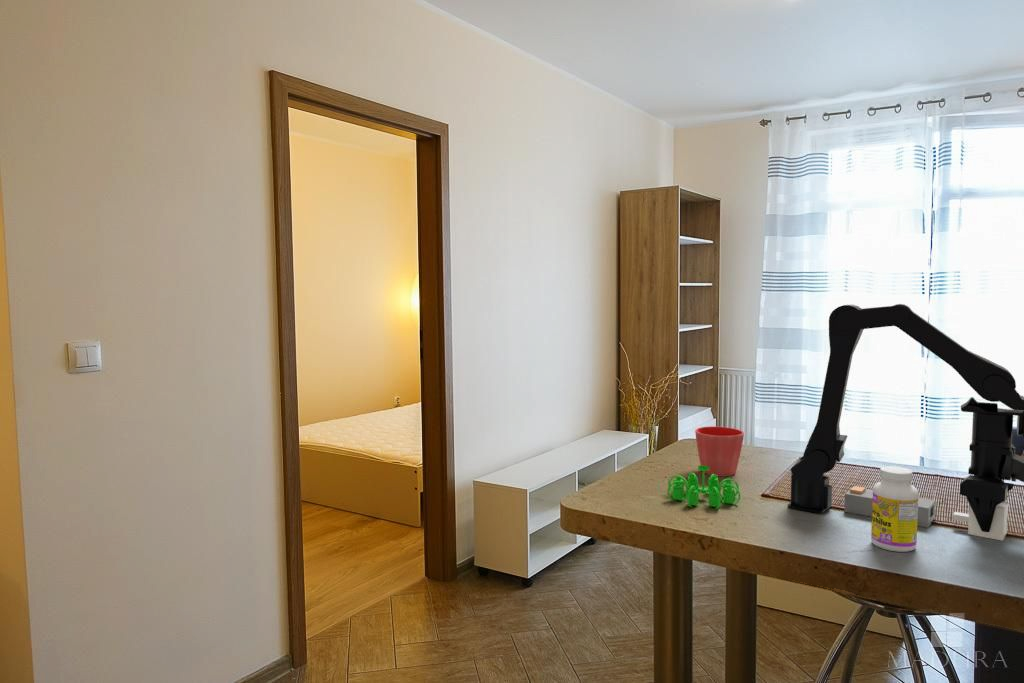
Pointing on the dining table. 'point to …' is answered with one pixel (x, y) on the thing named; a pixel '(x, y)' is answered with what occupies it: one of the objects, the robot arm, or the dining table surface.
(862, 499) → the power strip
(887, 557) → the dining table surface
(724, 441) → the flower pot
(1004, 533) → the charger
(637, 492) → the dining table surface
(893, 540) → the supplement bottle
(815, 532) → the dining table surface
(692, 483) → the chandelier
